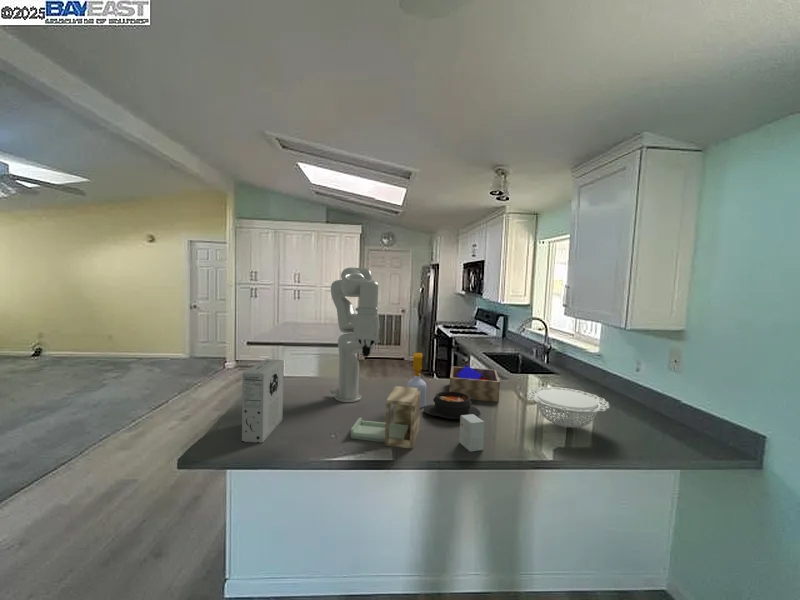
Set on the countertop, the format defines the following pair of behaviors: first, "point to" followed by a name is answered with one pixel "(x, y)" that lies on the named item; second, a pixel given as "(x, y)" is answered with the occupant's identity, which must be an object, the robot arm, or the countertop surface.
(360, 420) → the tray
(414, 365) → the soap bottle
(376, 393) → the countertop surface
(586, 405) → the colander
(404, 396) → the shelf
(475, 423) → the small box
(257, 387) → the cereal box
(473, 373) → the house
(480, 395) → the open wooden box
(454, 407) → the casserole
